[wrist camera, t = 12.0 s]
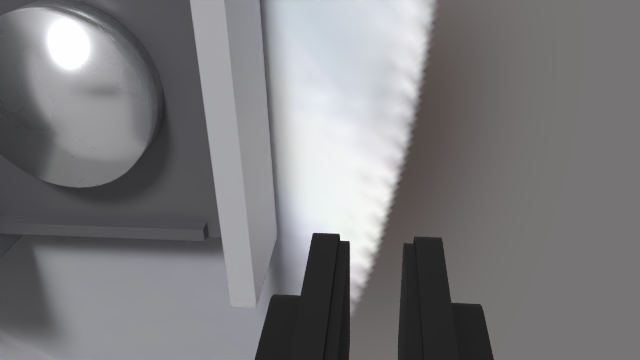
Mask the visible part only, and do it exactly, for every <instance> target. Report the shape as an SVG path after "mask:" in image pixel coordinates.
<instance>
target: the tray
mask: <svg viewBox="0 0 640 360" xmlns="http://www.w3.org/2000/svg"><path fill="white" fill-rule="evenodd" d="M35 1H40V0H0V16H1V15H4V14H6V13H8V12H11V11H13V10H15V9H18V8H20V7H23V6H25V5H27V4H30V3H32V2H35ZM74 1H79V2H83V3H86V4H89V5H92V6H94V7H96V8H98V9H100V10H103V11H105V12H106V13H108V14H109V15H111V16H113V17H114V18H116V19H117V20H118V21H120V22H121V23H122V24H124V25H125V26H126V27H127V28H128V29H129V30H130V31H131V32H132V33H133V34H134V35H135V36H136V37H137V38H138V39H139V40H140V42H141V43H142V44H143V45H144V47H145V48H146V50H147V51H148V53H149V54H150V56H151V58H152V60H153V61H154V63H155V65H156V68H157V70H158V73H159V75H160V78H161V82H162V87H163V92H164V114H163V119H162V123H161V126H160V129H159V131H158V133H157V135H156V137H155V139H154V140H153V141H152V143H151V144H150V145H149V147H148V148H147V149H146V150H145V152H144V153H143V154H142V155H141V157H140V158H139V159H138V160H137V161H136V163H135V164H134V165H133V166H132V167H131V168H130V169H129V170H128V171H127V172H126V173H125V174H123V175H122V176H120V177H119V178H117V179H115V180H113V181H111V182H109V183H105V184H102V185H99V186H93V187H79V188H78V187H67V186H62V185H56V184H53V183H50V182H46V181H44V180H41V179H39V178H36V177H34V176H32V175H30V174H28V173H27V172H25V171H23V170H21V169H20V168H18V167H17V166H15V165H14V164H12V163H11V162H10V161H9V160H7V159H6V158H5V157H4V156H2V155H1V154H0V234H24V235H50V236H76V237H102V238H128V239H154V240H180V241H205V240H206V238H207V237H214V238H222V244H223V251H224V259H225V266H226V274H227V281H228V289H229V296H230V304H231V306H232V307H252V308H257V304H258V301H259V297H260V294H261V290H262V287H263V283H264V280H265V277H266V273H267V270H268V266H269V263H270V259H271V256H272V252H273V249H274V245H275V242H276V238H277V225H276V212H275V199H274V186H273V173H272V160H271V146H270V133H269V120H268V107H267V94H266V81H265V67H264V54H263V41H262V28H261V15H260V2H259V0H74Z"/></svg>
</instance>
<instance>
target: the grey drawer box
mask: <svg viewBox="0 0 640 360" xmlns="http://www.w3.org/2000/svg"><path fill="white" fill-rule="evenodd" d="M22 235H23V234H0V258H1V257H2V256H3V254H4V253H5V252H6V251H7V250H8V249H9V248H10V247H11V246H12V245H13V244H14V243H15V242H16V241H17V240H18V239H19V238H20V237H21V236H22Z"/></svg>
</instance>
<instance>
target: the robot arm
mask: <svg viewBox="0 0 640 360" xmlns="http://www.w3.org/2000/svg"><path fill="white" fill-rule="evenodd" d="M349 346H350V242H349V241H340V235H339V234H328V233H313V236H312V240H311V246H310V251H309V256H308V261H307V266H306V271H305V276H304V281H303V286H302V291H301V296H296V295H275V294H273V296H272V297H271V300H270V303H269V307H268V311H267V315H266V318H265V322H264V326H263V330H262V334H261V338H260V341H259V345H258V349H257V353H256V357H255V360H349ZM398 360H494V359H493V354H492V350H491V345H490V340H489V335H488V331H487V326H486V321H485V317H484V312H483V309H482V306H481V305H480V304H464V303H451V298H450V291H449V284H448V277H447V270H446V264H445V257H444V249H443V242H442V238H438V237H414V243H413V244H407V243H404V246H403V262H402V280H401V299H400V317H399V335H398Z"/></svg>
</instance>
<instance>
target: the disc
mask: <svg viewBox="0 0 640 360" xmlns="http://www.w3.org/2000/svg"><path fill="white" fill-rule="evenodd" d="M163 114H164V92H163V87H162V82H161V78H160V75H159V73H158V70H157V68H156V65H155V63H154V61H153V60H152V58H151V56H150V54H149V53H148V51H147V50H146V48H145V47H144V45H143V44H142V43H141V42H140V40H139V39H138V38H137V37H136V36H135V35H134V34H133V33H132V32H131V31H130V30H129V29H128V28H127V27H126V26H125V25H124V24H122V23H121V22H120V21H118V20H117V19H116V18H114V17H113V16H111V15H109V14H108V13H106V12H105V11H103V10H100V9H98V8H96V7H94V6H92V5H89V4H86V3H83V2H79V1H74V0H40V1H35V2H32V3H30V4H27V5H25V6H23V7H20V8H18V9H15V10H13V11H11V12H8V13H6V14H4V15H1V16H0V154H1V155H2V156H4V157H5V158H6V159H7V160H9V161H10V162H11V163H12V164H14V165H15V166H17V167H18V168H20V169H21V170H23V171H25V172H27V173H28V174H30V175H32V176H34V177H36V178H39V179H41V180H44V181H46V182H50V183H53V184H56V185H62V186H67V187H78V188H79V187H93V186H99V185H102V184H105V183H109V182H111V181H113V180H115V179H117V178H119V177H120V176H122V175H123V174H125V173H126V172H127V171H128V170H129V169H130V168H131V167H132V166H133V165H134V164H135V163H136V161H137V160H138V159H139V158H140V157H141V155H142V154H143V153H144V152H145V150H146V149H147V148H148V147H149V145H150V144H151V143H152V141H153V140H154V139H155V137H156V135H157V133H158V131H159V129H160V126H161V123H162V119H163Z"/></svg>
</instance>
